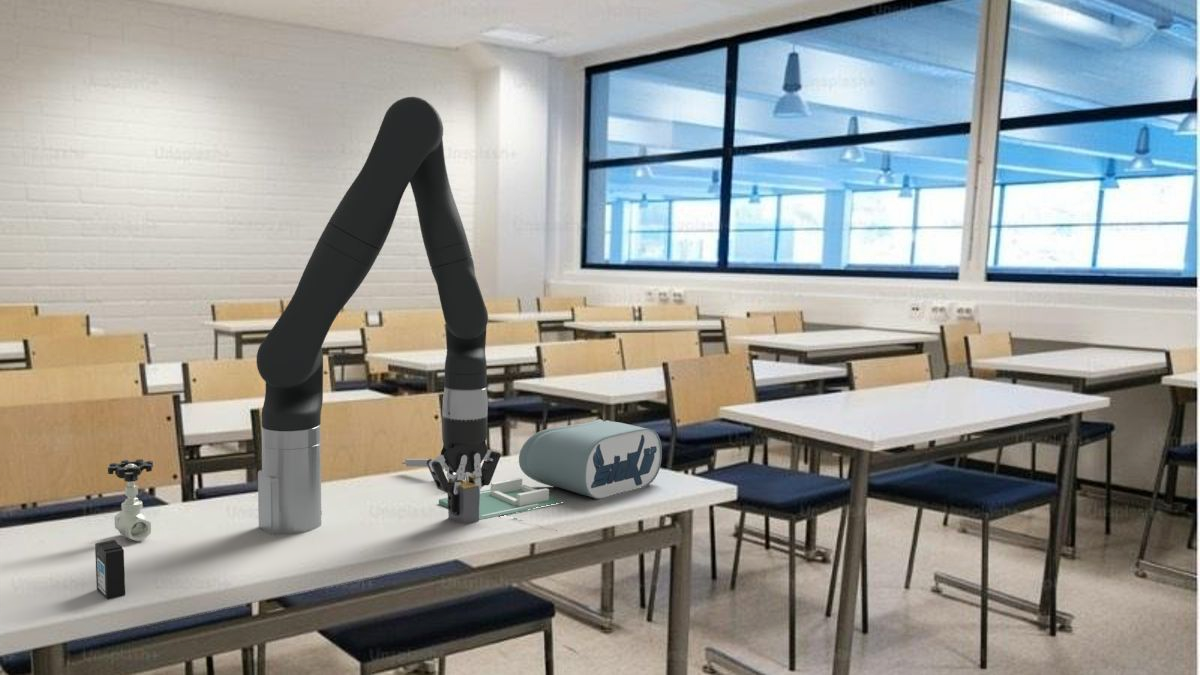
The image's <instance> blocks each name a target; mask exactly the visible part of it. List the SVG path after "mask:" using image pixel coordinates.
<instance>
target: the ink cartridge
mask: <svg viewBox="0 0 1200 675" xmlns="http://www.w3.org/2000/svg"><path fill="white" fill-rule="evenodd" d="M94 546H95V549H94V550H95V551H94V552H95V553H94V554H95V573H96V574H95V578H96V581H95V582H96V591H97V592H98V593H100V594H101V595H102V596H103V598H105V599H106V600H110V599H114V598H119V597H124V596H126V582H125V579H126V577H125V574H126V573H125V550H124V548H123V547H122V545H121V544H119V543H118V542H117V541H116V540H115V539H112V540H111V539H110V540H107V541H101V542H96V543H95V544H94Z"/></svg>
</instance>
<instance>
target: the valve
mask: <svg viewBox="0 0 1200 675" xmlns="http://www.w3.org/2000/svg"><path fill="white" fill-rule="evenodd" d="M153 468H154V461H153V460H147V461H144V459H142V458H140V459H136V460H134V461H130V460H129V459H123V460H121V461H120V463H117V462H111V463H109V466H108V467H107V474H108V475H114V473H115V475H116V476H115V477H117V478H119V479H123V480H124V482H125V483H127V486H125V487H124V495H125V497H127V498H125V499H124V501H123V502H122V503H121V504H120V505H121V506H120V507H121V511H120V512H119V513H117V514H116V515H115V516H114V529H116V530H117V531H118V533H119V534H120V535H121V536H122V537H124V538H127V539H130V540H133V541H137V542H142V541H143V540H145V539H146V538H147V537H149V536H150V535H151V533H152V522H151V521H150V520H149V519H147V517H146V516H145V515H144V514H143V513H142V512H141V510H142V509H143V507H144V506H143V501H142V500H139V498H138V495H139V486H138V485H137V484H136V482H137V481H138V480H139V476H140V475H141V474H142V472H143V471H144V470H145V472H148V473H149V472H152V471H153Z"/></svg>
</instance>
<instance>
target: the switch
mask: <svg viewBox="0 0 1200 675" xmlns="http://www.w3.org/2000/svg"><path fill="white" fill-rule="evenodd" d="M459 495H460V501H459V515H457V516H455V515H453V514H451V513H450V511H448V513H447V514H448V519H450V520H452V521H454V522H458V523H459V524H461V525H467V524H472V523H475V522H476V523H477V522H480V520H479V487H478V486H476V485H475V484H473V483H471V482H468V481H466V479H465V480H463V481H462V482H461V487H460V492H459Z"/></svg>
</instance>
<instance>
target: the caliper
mask: <svg viewBox="0 0 1200 675" xmlns="http://www.w3.org/2000/svg"><path fill="white" fill-rule="evenodd" d="M429 459H430V458H407V459H405V460H404V461H402V462H401V464H402V465H405V466H406V467H407V468H408V467H411V468H412V467H413V468H415V467H416V468H417V467H419V468H420V467H423V468H427V467H428V466H427V461H428V460H429ZM431 459H432V460H434V459H435V458H431ZM447 469H448V466H447V464H446V463H445V462H444V472H447ZM463 480H466V481H468V480H467V475H466V474H465V473H464V478H463Z"/></svg>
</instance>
